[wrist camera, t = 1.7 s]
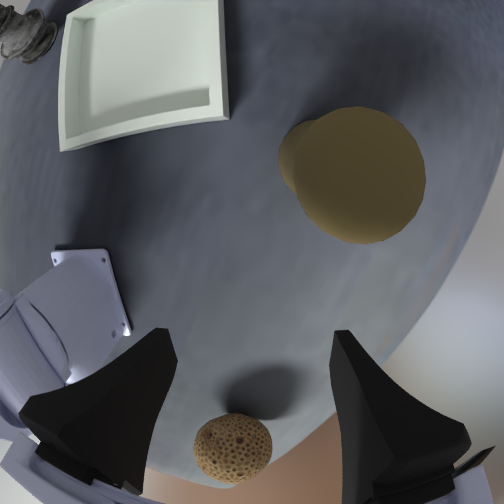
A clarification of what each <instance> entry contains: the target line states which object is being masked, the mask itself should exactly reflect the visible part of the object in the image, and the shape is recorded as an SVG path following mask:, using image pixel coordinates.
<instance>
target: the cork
mask: <svg viewBox="0 0 504 504" xmlns="http://www.w3.org/2000/svg"><path fill="white" fill-rule="evenodd" d="M278 164H279V168H280V173H281V176H282V178H283V179H284V181H285V183H286V184H287V186H288V187H289V188H290V189H291V190H292V191H293V192H294V193H296V195H297V198H298V200H299V202H300V204H301V205H302V207H303V209H304V211H305V212H306V214H307V216H308V218H310V219H311V220H312V221H313V222H314V223H315V224H316V225H317V226H318V227H319V228H320V229H321V230H322V231H323V232H325V233H328V234H330V235H332V236H334V237H336V238H338V239H340V240H342V241H345V242H350V243H359V244H370V243H375V242H379V241H384V240H386V239H388V238H389V237H391V236H393V235H395V234H397V233H398V232H400V231H401V230H402V229H403V228H404V227H405V226H406V225H407V224H408V223H409V222H410V221H411V220H412V219H413V218H414V216H415V215H416V213H417V211H418V209H419V207H420V205H421V202H422V200H423V196H424V190H425V184H426V176H425V167H424V159H423V157H422V154H421V152H420V150H419V147H418V145H417V142H416V140H415V139H414V138H413V137H412V135H411V134H410V133H409V132H408V130H407V129H406V128H405V127H404V126H403V124H401V123H400V122H398V121H397V120H395V119H394V118H392V117H391V116H389V115H387V114H386V113H384V112H381V111H378V110H374V109H370V108H366V107H361V106H356V107H346V108H338V109H336V110H334V111H332V112H330V113H328V114H326V115H324V116H322V117H320V118H319V119H315V120H309V121H305V122H303V123H301V124H299V125H297V126H295V127H293V128H292V130H291V131H290V132H289V133H288V134H287V135H286V136H285V137H284V139H283V142H282V144H281V146H280V148H279V157H278Z"/></svg>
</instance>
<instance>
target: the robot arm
mask: <svg viewBox="0 0 504 504" xmlns="http://www.w3.org/2000/svg"><path fill="white" fill-rule="evenodd" d="M51 257H52V260H53V263H54V267H53V268H52V269H50V270H49V271H48V272H46V273H45V274H43V275H42V276H41V277H39V278H38V279H37V280H35V281H34V282H33V283H31V284H30V285H29V286H27V287H26V288H25V289H24V290H22V291H21V292H20V293H18V294H17V295H16V296H15V297H13V295H12V293H11V292H10V291H6V290H3V289H0V439H2V440H6V441H10V442H13V443H12V445H11V446H10V448H9V450H8V451H7V453H6V454H5V456H4V458H3V460H2V461H1V463H0V466H1V467H2V468H3V469H4V470H5V471H6V472H7V473H8V474H9V475H11V477H13V478H14V479H15V480H16V481H17V482H18V483H20V484H21V485H22V486H23V487H24V488H25V489H26V490H27V491H28V492H30V493H31V494H32V495H33V496H34V497H36V498H37V499H38V500H39V501H41V502H42V503H43V504H164V503H160V502H156V501H153V500H149V499H146V498H143V497H140V496H139V495H141V494H142V493H143V482H144V473H145V466H146V460H147V455H148V450H149V445H150V441H151V437H152V433H153V429H154V426H155V423H156V420H157V417H158V414H159V412H160V410H161V407H162V405H163V403H164V400H165V398H166V395H167V393H168V391H169V388H170V386H171V383H172V381H173V378H174V374H175V371H176V366H177V362H178V360H177V357H176V354H175V351H174V347H173V344H172V341H171V337H170V334H169V331H168V329H165V328H155V329H154V330H152V331H151V332H150V333H148V334H147V335H146V336H144V337H143V338H142V339H141V340H140V341H138V342H137V343H136V344H134V345H133V346H132V347H131V348H129V349H128V350H127V351H126V352H124V353H123V354H122V355H120V356H119V357H117V358H116V359H115V360H113V361H112V362H110V363H109V364H108V365H106V366H105V367H103V368H101V366H102V365H103V363H104V362H105V360H106V359H107V357H108V356H109V355H110V353H111V352H112V350H113V349H114V347H115V346H116V344H117V343H118V341H119V340H120V339H121V337H122V336H123V335H126V336H129V335H130V334H131V333H132V331H131V328H130V325H129V322H128V319H127V316H126V313H125V310H124V307H123V304H122V301H121V298H120V294H119V291H118V288H117V284H116V281H115V277H114V274H113V270H112V266H111V262H110V258H109V254H108V252H107V250H105V249H80V250H55V251H53V252H52V253H51ZM104 258H105V260H106V261H105V260H104ZM124 323H125V324H124ZM329 367H330V378H331V386H332V391H333V396H334V401H335V405H336V410H337V415H338V420H339V424H340V430H341V442H342V462H343V463H342V464H343V487H342V488H343V489H342V504H493V500H492V496H491V492H490V488H489V485H488V481H487V478H486V475H485V472H484V469H483V466H482V465H479V466H478V467H476V468H474V469H472V470H470V471H468V472H466V473H464V474H462V475H460V476H458V477H456V478H454V479H453V478H452V473H454V471H455V469H454V466H453V464H454V463H455V462H456V461H457V460H458V459H459V458H461V457H462V456H463V455H464V454H465V453H466V452H467V451H468V450H469V448H470V446H471V444H472V443H471V440H470V437H469V434H468V432H467V430H466V428H465V426H464V424H463V423H461V422H458V421H456V420H453V419H451V418H449V417H447V416H444V415H442V414H440V413H439V412H437V411H435V410H433V409H431V408H429V407H428V406H426V405H425V404H423V403H422V402H420V401H418V400H417V399H416V398H414V397H413V396H411V395H410V394H409V393H407V392H406V391H405V390H404V389H402V388H401V387H400V386H399V385H398V384H396V383H395V382H394V381H393V380H392V379H391V378H390V377H389V376H388V375H387V374H386V373H385V372H384V371H383V370H382V369H381V368H380V367H379V366H378V365H377V364H376V362H375V361H374V360H373V359H372V358H371V357H370V356H369V354H368V353H367V352H366V351H365V350H364V348H363V347H362V346H361V345H360V343H359V342H358V341H357V340H356V338H355V337H354V336H353V334H352V333H351V332H350V331H349V330H338V331H335V332H334V338H333V345H332V351H331V357H330V363H329ZM100 368H101V369H100ZM99 369H100V370H99ZM67 383H72V384H70V385H68V384H67ZM32 434H34V435H35V436H36V437H37V438H38V439H39V440H40V441H41V442H40V444H39V445H38V444H37V443H35V442H34V441H33V440H31V439H30V438H28V437H29V436H30V435H32Z"/></svg>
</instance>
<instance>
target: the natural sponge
mask: <svg viewBox="0 0 504 504" xmlns="http://www.w3.org/2000/svg"><path fill="white" fill-rule="evenodd" d="M194 455H195V459H196V462H197V464H198V465H199V467H200V468H201V469H202V470H203V472H204V473H205V474H206V475H208V476H209V477H211V478H213V479H215V480H218V481H220V482H223V483H226V484H237V483H241V482H244V481H247V480H249V479H251V478H253V477H254V476H256V475H257V474H258V473H259V472H261V471H262V470H263V469H264V468H265V467H266V466H267V464H268V463H269V461H270V458H271V455H272V439H271V436H270V433H269V431H268V429H267V428H266V427H265V426H264V425H263V424H262V423H261V422H260V421H258V420H256V419H254V418H251V417H248V416H246V415H244V414H242V413H229V414H226V415H223V416H221V417H218V418H215V419H212V420H210V421H209V422H207V423H206V424H205V425H204V426H203V427H201V428H200V430H199V431H198V433H197V435H196V438H195V442H194Z"/></svg>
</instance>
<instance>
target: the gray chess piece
mask: <svg viewBox="0 0 504 504" xmlns="http://www.w3.org/2000/svg"><path fill="white" fill-rule="evenodd" d="M56 35H57V25H56V24H55V23H53V22H46V19H45V17H44V12H43V10H41V9H39V8H38V9H33V10H30V11H28V12H26V13H25V14H23V15H20V14H19V13H17V12H15V11H14V6H12V5H11V6H8V7H5V6H3V5H1V4H0V41H1V42H2V46H1V56H2V58H3V59H4V60H10V59H16V58H20V60H21V62H22V63H24V64H31V63H34V62H35V61H37V60H38V59H40V58H41V57H42V56H43V55H44V54H45V53H46V52H47V51H48V49H49V48H50V47H51V45H52V44H53V42H54V40H55V38H56Z"/></svg>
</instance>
